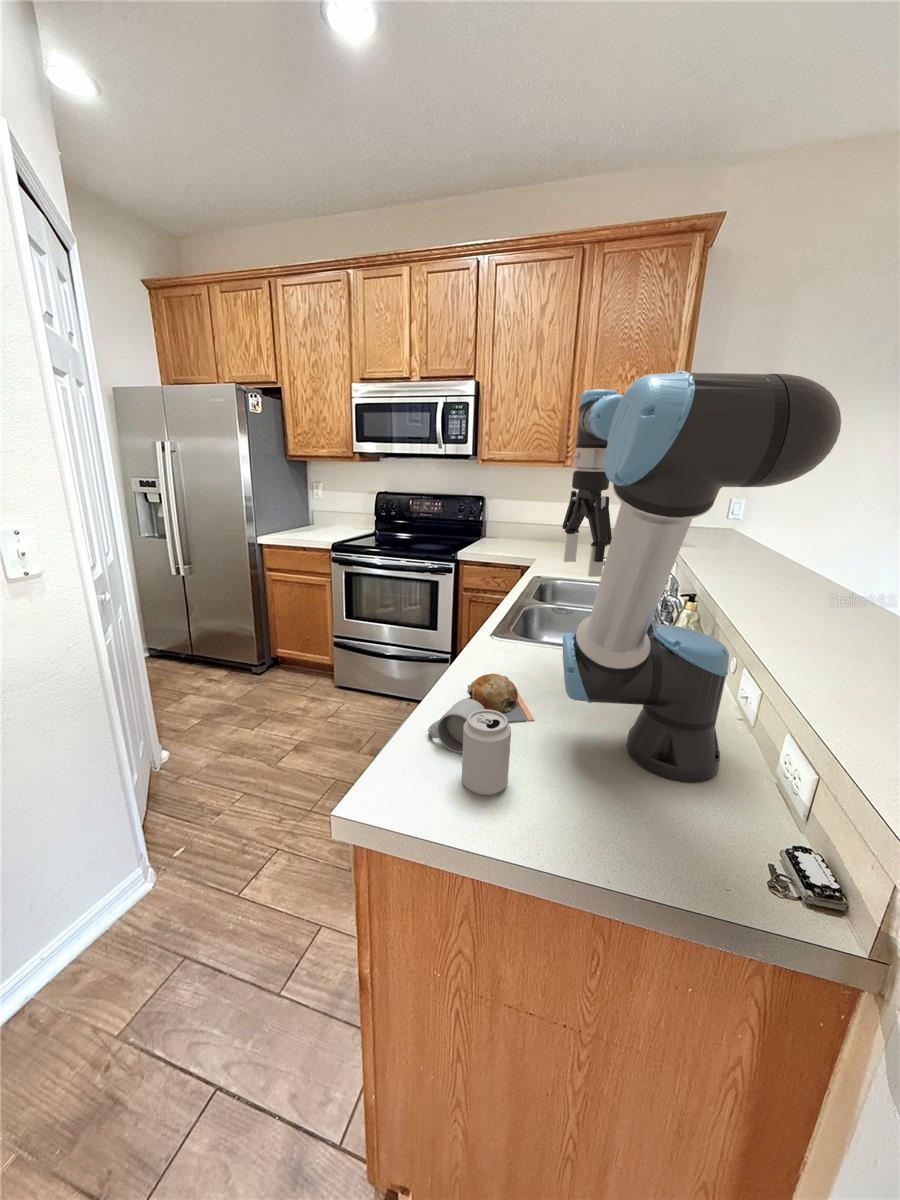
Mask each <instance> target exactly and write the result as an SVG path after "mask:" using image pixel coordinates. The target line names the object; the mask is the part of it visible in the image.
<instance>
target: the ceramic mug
mask: <svg viewBox="0 0 900 1200" xmlns="http://www.w3.org/2000/svg"><path fill="white" fill-rule="evenodd" d="M483 709H485V708H484V707H483V705H482V704H481V703H479V702H478V701H476V700H473V699H470V698H463V699H460V700H459V701H457V702H456V703H455V704H453V705H452V706H451V707H450V708H449V709H448V710H447V711H446V712H445V713H444V714H443V715H442V716H441V718H440V719H439V720H437V721H434V722H433V723H432V724H431V725H429V727H428V728H427V729H428V730H427V731H428V733H429V736H430V737H431V738H432V739H438V740H439V741H440V743H441V744H442V745H443V746H444V747H445V748H446V749H448V750H449V751H452V752H454V753H459V754H463V728H464V723H465V722H466V721H467V720H468V716H469V715H470V714H471V713H473V712H474V711H477V710H483Z"/></svg>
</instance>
